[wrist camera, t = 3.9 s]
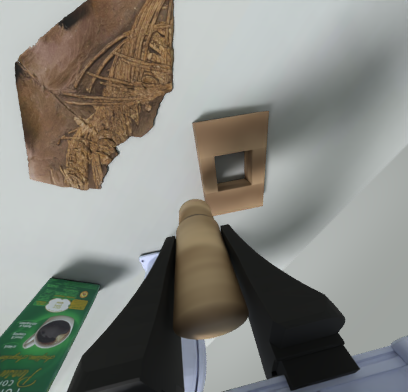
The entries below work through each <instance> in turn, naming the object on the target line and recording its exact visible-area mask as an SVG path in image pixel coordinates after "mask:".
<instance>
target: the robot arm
mask: <svg viewBox="0 0 408 392" xmlns="http://www.w3.org/2000/svg"><path fill="white" fill-rule="evenodd" d="M221 234H222V237H223V240H224V243H225V246H226V248H227V251H228V254H229V257H230V260H231V263H232V265H233V268H234V271H235V274H236V277H237V280H238V282H239V285H240V288H241V291H242V294H243V297H244V299H245V302H246V305H247V308H248V311H249V315H248V318H249V321H250V324H251V327H252V331H253V334H254V338H255V341H256V344H257V348H258V351H259V355H260V358H261V362H262V365H263V369H264V372H265V375H266V378H267V380H263V381H259V382H256V383H252V384H248V385H245V386H241V387H238V388H234V389H230V390H227V391H223V392H408V336H404V337H402V338H399V339H397V340H395V341H394V342H392V343H391V345H390V346H387V347H383V348H379V349H376V350H372V351H368V352H365V353H361V354H358V355H354V356H350V354H349V352H348V351H347V350H346V348H345V347H344V346H343V345H344V341H343V339H342V338H341V336H340V335H339V334H338V332H339V330H340V329H341V328H342V327H343V325H344V323H345V317H344V316H343V315H342V313H341V312H340V311H339V310H338V308H337V307H336V306H335V305H334V304H333V303H332V302H331V301H330V300H329V299H328V298H327V297H326V296H325V295H324V294H322V293H320V292H318V291H316V290H314V289H312V288H310V287H309V286H307V285H305V284H303V283H301V282H300V281H298V280H296V279H294V278H293V277H291V276H289V275H288V274H286V273H284V272H283V271H282V270H280V269H278V268H277V267H275V266H274V265H272V264H271V263H270V262H268V261H267V260H266V259H264V258H263V257H262V256H260V255H259V254H258V253H257V252H255V251H254V250H253V249H252V248H251V247H250V246H249V245H248V244H246V243H245V242H244V241H243V240H242V239H241V238H240V237H239V236H238V235H237V233H236V232H235V231H234V230H233V229H232V228H231V227H230V225H228V224H227V225H223V226H221ZM175 255H176V239H175V236H172V237H167V238H166V240H165V242H164V244H163V246H162V248H161V251H160V252H156V253H151V254H147V255H142V256H140V257H139V260H140V262H141V264H142V266H143V268H144V269H145V271H146V273H145V277H144V281H143V283H142V284H141V286H140V287H139V289H138V290H137V292H136V293H135V294H134V296H133V297H132V298H131V300H130V301H129V303H128V304H127V305H126V306H125V308H124V309H123V310H122V311H121V313H120V314H119V315H118V316H117V318H116V319H115V320H114V321H113V322H112V324H111V325H110V326H109V327H108V328H107V329H106V331H105V332H104V333H103V334H102V335H101V336H100V337H99V338H98V339H97V340H96V342H95V343H94V344H93V345H92V346H91V347H90V348H89V349H88V350H87V351H86V352H85V353H84V354H83V355H82V358H81V360H80V362H79V364H78V366H77V368H76V371H75V373H74V376H73V378H72V381H71V383H70V385H69V388H68V390H67V392H203V389H204V384H205V379H206V348H205V341H204V339H199V340H194V339H186V338H182V337H180V336H178V335H177V334H175V332H174V330H173V309H174V282H175Z"/></svg>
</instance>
